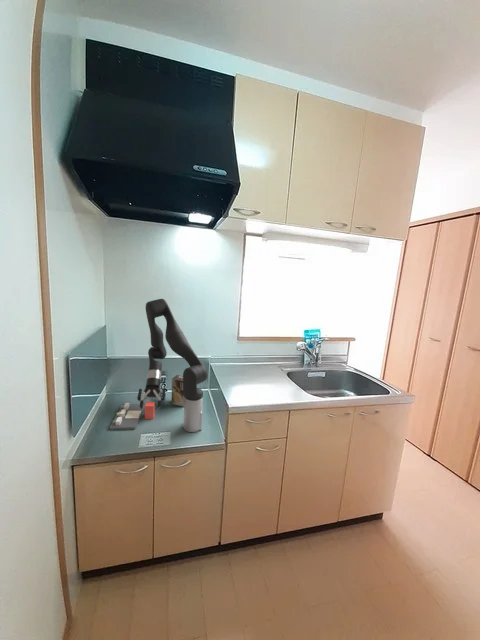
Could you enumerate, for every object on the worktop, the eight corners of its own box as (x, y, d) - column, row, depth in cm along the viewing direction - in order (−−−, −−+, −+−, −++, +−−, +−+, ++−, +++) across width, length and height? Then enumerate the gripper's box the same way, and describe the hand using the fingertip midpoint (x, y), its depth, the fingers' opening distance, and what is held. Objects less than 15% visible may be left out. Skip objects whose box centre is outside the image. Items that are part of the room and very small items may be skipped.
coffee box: (189, 402, 159) (190, 377, 156) (184, 407, 153) (185, 381, 150) (176, 398, 162) (177, 374, 159) (170, 403, 156) (171, 378, 153)
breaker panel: (144, 405, 152) (144, 400, 151) (135, 429, 131) (135, 423, 130) (122, 406, 150) (122, 400, 149) (109, 429, 129) (109, 424, 128)
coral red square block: (154, 414, 145) (154, 401, 143) (153, 418, 140) (153, 406, 139) (146, 414, 144) (146, 401, 142) (144, 419, 140) (144, 406, 138)
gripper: (139, 376, 145) (134, 406, 137) (166, 377, 148) (163, 406, 139) (141, 381, 152) (137, 410, 143) (167, 381, 154) (164, 410, 145)
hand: (149, 408), depth 141 cm, fingers open, 8 cm apart
